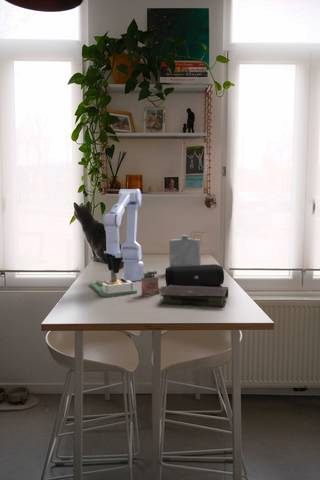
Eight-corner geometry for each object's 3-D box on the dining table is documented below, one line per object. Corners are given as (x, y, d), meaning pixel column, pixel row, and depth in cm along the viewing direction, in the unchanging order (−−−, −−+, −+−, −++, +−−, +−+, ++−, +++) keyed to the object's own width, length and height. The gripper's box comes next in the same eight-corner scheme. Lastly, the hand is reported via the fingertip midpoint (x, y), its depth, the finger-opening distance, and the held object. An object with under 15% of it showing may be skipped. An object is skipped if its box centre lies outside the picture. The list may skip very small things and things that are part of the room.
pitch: (120, 282, 223) (120, 278, 222) (136, 293, 202) (136, 288, 201) (90, 285, 217) (89, 281, 217) (103, 296, 196) (103, 292, 196)
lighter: (143, 296, 196) (142, 273, 194) (140, 294, 199) (139, 271, 197) (160, 293, 199) (160, 271, 198) (156, 292, 202) (156, 269, 201)
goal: (128, 287, 207) (128, 280, 206) (133, 290, 201) (132, 282, 201) (102, 290, 202) (102, 282, 202) (106, 293, 197) (106, 285, 196)
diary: (169, 295, 200) (169, 283, 200) (228, 297, 195) (228, 285, 194) (159, 306, 182) (159, 293, 182) (224, 309, 176) (224, 296, 176)
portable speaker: (168, 290, 205) (167, 268, 204) (165, 285, 215) (164, 264, 214) (224, 288, 208) (224, 266, 207) (219, 283, 218) (219, 262, 217)
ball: (122, 292, 202) (120, 286, 205) (123, 284, 200) (121, 279, 203) (113, 293, 200) (111, 287, 204) (114, 285, 198) (112, 280, 202)
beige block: (118, 285, 210) (118, 268, 209) (122, 287, 206) (121, 270, 205) (106, 286, 208) (105, 269, 207) (109, 289, 203) (108, 271, 202)
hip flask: (169, 274, 240) (169, 235, 237) (170, 272, 244) (169, 234, 241) (200, 274, 239) (200, 235, 236) (200, 272, 243) (200, 234, 240)
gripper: (99, 239, 209) (100, 269, 211) (108, 243, 196) (109, 275, 198) (114, 238, 212) (115, 267, 214) (124, 242, 199) (125, 273, 200)
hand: (113, 271), depth 206 cm, fingers open, 7 cm apart
